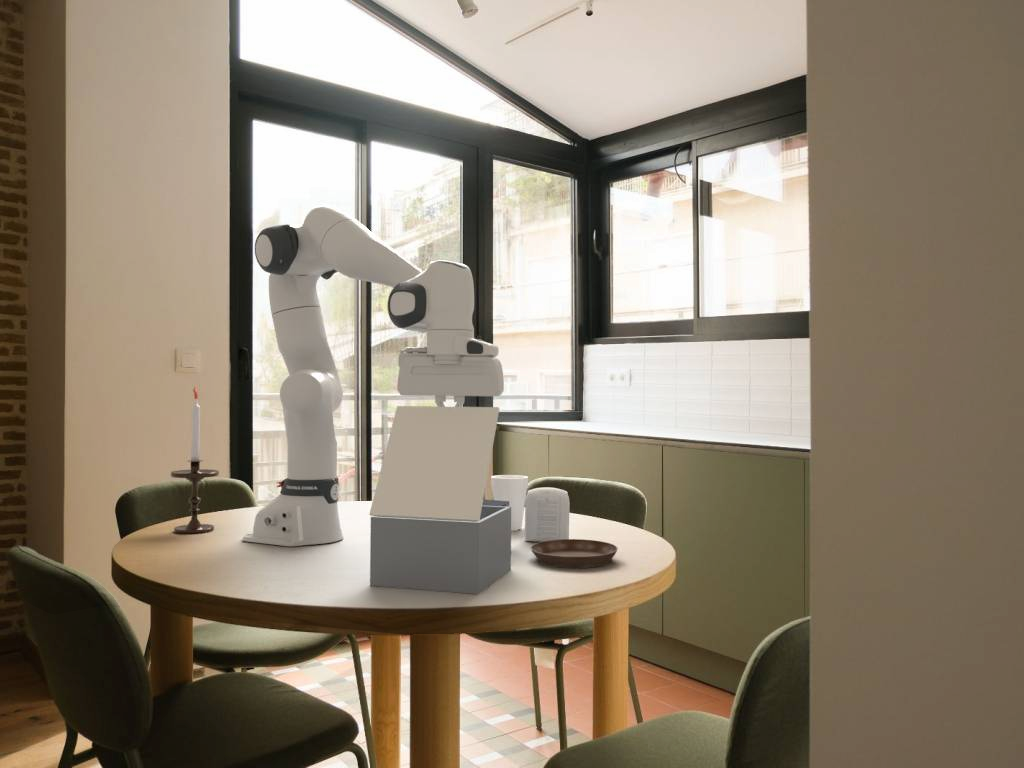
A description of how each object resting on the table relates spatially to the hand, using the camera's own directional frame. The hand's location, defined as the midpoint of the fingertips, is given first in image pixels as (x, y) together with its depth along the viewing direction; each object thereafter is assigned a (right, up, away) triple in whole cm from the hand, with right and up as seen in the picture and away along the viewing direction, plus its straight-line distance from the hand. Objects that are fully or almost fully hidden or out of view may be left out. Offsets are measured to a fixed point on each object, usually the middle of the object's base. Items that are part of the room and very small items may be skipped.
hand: (449, 420), depth 148 cm
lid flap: (-2, -7, -6) cm, 10 cm away
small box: (+7, -29, +22) cm, 37 cm away
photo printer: (+20, -30, +34) cm, 49 cm away
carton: (-1, -29, -3) cm, 29 cm away
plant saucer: (+24, -30, +13) cm, 40 cm away
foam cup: (+11, -30, +51) cm, 60 cm away
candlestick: (-66, -29, +44) cm, 85 cm away
